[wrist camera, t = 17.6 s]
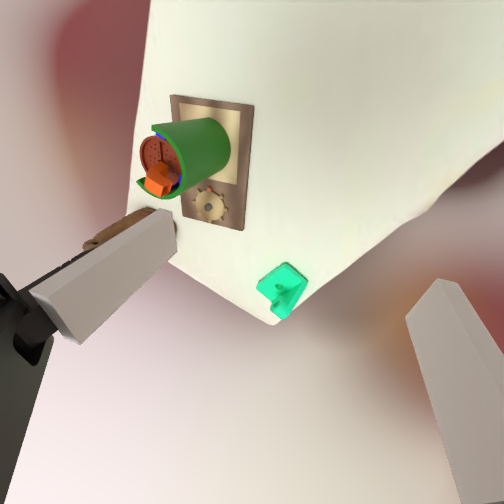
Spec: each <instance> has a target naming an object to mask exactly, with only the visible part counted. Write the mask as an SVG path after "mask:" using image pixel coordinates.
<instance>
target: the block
mask: <svg viewBox="0 0 504 504" xmlns="http://www.w3.org/2000/svg"><path fill="white" fill-rule="evenodd" d="M153 212H155V210H153V209H150V208H142V209H140V210H137V211H135V212H133V213H131V214H129V215H127V216H125V217H124V218H122V219H121V220H119V221H117V222H116V223H114V224H112V225H111V226H109V227H107V228H106V229H104V230H103V231H101V232H100V233H98V234H97V235H96V236H95V237H94V238H93V239H91V240H88V241H86V242H85V243H84V244H83V249H84V251H87V250H90V249H92V248H95V247H99V246H101V245H102V244H104V243H105V242H107V241H109V240H110V239H112V238H113V237H115V236H117V235H118V234H120V233H121V232H123V231H125V230H126V229H128V228H129V227H131V226H133V225H134V224H136V223H137V222H139V221H141V220H142V219H144V218H145V217H147V216H149V215H150V214H152V213H153ZM174 230H175V233H176V226H175V224H174Z"/></svg>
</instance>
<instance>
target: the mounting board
mask: <svg viewBox="0 0 504 504" xmlns="http://www.w3.org/2000/svg"><path fill="white" fill-rule="evenodd" d="M170 103H171V112H172V121H173V122H178V121H185V120H192V119H200V118H207V117H210V118H212V119H214V120H216V121H217V122H218V123H220V124H221V126H222V127H223V128H224V129H225V131H226V133H227V135H228V137H229V141H230V146H231V154H230V158H229V161H228V163H227V165H226V166H225V167H224V168H223V169H222V170H221V171H219V172H217V173H216V174H214V175H212V176H210V177H209V178H207V179H205V180H204V181H202V182H200V183H199V184H197V185H195V186H193V187H192V188H190V189H188V190H187V191H185V192H183V193H181V194H180V196H181V205H182V214H183V216H184V217H188V218H192V219H196V220H200V221H204V222H207V223H211V224H215V225H219V226H223V227H227V228H231V229H235V230H239V231H243V230H244V222H245V210H246V198H247V186H248V174H249V162H250V150H251V138H252V126H253V114H254V106H252V105H244V104H237V103H229V102H222V101H214V100H207V99H200V98H192V97H185V96H177V95H170Z"/></svg>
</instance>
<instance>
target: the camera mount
mask: <svg viewBox="0 0 504 504" xmlns="http://www.w3.org/2000/svg"><path fill="white" fill-rule="evenodd" d="M307 282H308V281H307V280H305V279H304V278H303V277H302V276H301V275H300V274H299V273H297V272H296V271H295V270H294V269H293V268H292V267H290V266H289V265H288V264H282V265H281V266H280V267H278V268H277V267H276V268H275V269H274V270H272V271H271V272H270V273H268V274H267V275H266V276H265V278H264V279H262V280H261V281H260V282H258V284H257V287H256V289H257V290H258V291H259V292H261V293H262V294H263V295H264V296H265V297H267V298H268V299H269V300H270V301H271V302H272V305H271V307H270V310H271V311H272V312H273V313H274V314H275V315H277V316H278V317H279V318H280V319H285V318H286V317H287V316H288V315H289V314H290V313H291V311H292V309H293V308H294V306H295V305H296V303H297V301H298V300H299V298H300V296H301V295H302V293H303V291H304V290H305V288H306V286H307Z"/></svg>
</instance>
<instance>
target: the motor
mask: <svg viewBox="0 0 504 504" xmlns="http://www.w3.org/2000/svg"><path fill="white" fill-rule="evenodd" d="M152 131H154V132H156V135H155V136H150V137H147V138H146V139H144V141H143V142H142V144H141V146H140V159H141V163H142V166H143V168H144V170H145V171H146V173H147V174H146V177H144V178H141V179H139V180H137V181H136V182H137V183H138V185H139V186H140V187H141V188H142V189H143V190H145V191H146V192H147V193H149V194H150V195H152V196H154V197H156V198H159V199H172V198H175V197H176V196H178V195H180V194H181V193H183V192H185V191H187V190H188V189H190V188H192V187H193V186H195V185H197V184H199V183H200V182H202V181H204V180H205V179H207V178H209V177H210V176H212V175H214V174H216V173H217V172H219V171H221V170H222V169H223V168H224V167H225V166H226V165H227V163H228V161H229V158H230V154H231V146H230V141H229V137H228V135H227V133H226V131H225V129H224V128H223V127H222V126H221V124H220V123H218V122H217V121H216V120H214V119H212V118H210V117H207V118H200V119H192V120H185V121H178V122H170V123H163V124H155V125H152ZM147 149H148V150H147Z"/></svg>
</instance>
